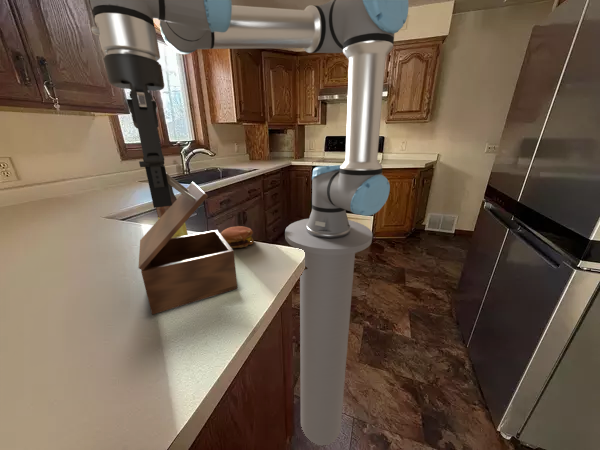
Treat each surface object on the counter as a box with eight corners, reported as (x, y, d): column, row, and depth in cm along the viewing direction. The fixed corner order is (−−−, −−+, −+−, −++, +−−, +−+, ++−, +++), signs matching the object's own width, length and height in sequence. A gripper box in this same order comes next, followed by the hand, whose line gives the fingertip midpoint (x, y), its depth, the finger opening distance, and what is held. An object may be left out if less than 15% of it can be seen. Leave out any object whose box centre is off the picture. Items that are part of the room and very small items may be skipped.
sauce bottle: (194, 245, 72) (183, 177, 65) (181, 254, 66) (167, 181, 59) (174, 243, 73) (161, 176, 66) (159, 252, 67) (143, 180, 60)
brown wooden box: (221, 261, 62) (217, 229, 59) (237, 288, 51) (233, 250, 48) (150, 279, 55) (142, 243, 52) (152, 314, 44) (141, 271, 41)
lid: (195, 184, 54) (164, 159, 49) (208, 196, 43) (169, 165, 38) (143, 242, 52) (105, 221, 47) (142, 270, 41) (93, 247, 36)
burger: (224, 237, 77) (222, 223, 75) (254, 236, 78) (253, 222, 76) (218, 251, 68) (216, 236, 66) (252, 249, 69) (251, 234, 67)
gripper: (111, 71, 45) (139, 190, 52) (87, 26, 27) (135, 219, 34) (157, 76, 48) (177, 187, 56) (164, 39, 30) (192, 211, 38)
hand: (161, 199), depth 45 cm, fingers closed on lid, 10 cm apart
